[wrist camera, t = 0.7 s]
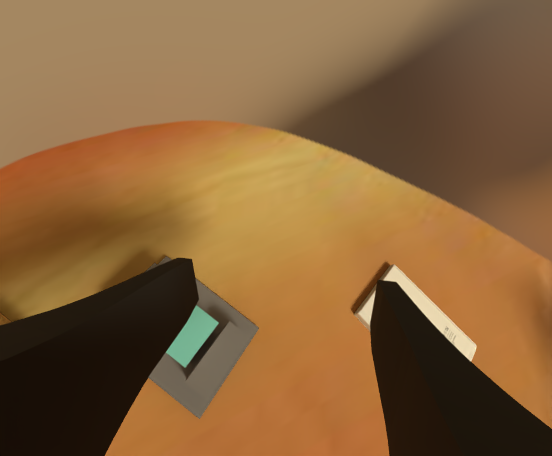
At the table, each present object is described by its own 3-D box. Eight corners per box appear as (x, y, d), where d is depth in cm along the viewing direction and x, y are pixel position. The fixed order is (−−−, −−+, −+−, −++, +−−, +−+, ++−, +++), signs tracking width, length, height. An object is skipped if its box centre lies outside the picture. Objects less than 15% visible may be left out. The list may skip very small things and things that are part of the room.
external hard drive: (386, 267, 32) (466, 345, 30) (350, 315, 28) (439, 407, 26) (395, 263, 30) (479, 345, 28) (358, 313, 26) (453, 411, 25)
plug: (188, 363, 21) (185, 367, 16) (146, 329, 21) (128, 322, 16) (214, 329, 23) (218, 322, 17) (174, 297, 23) (167, 282, 18)
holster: (199, 417, 20) (199, 429, 17) (92, 330, 21) (74, 327, 18) (258, 328, 24) (266, 325, 21) (166, 257, 25) (162, 244, 21)
